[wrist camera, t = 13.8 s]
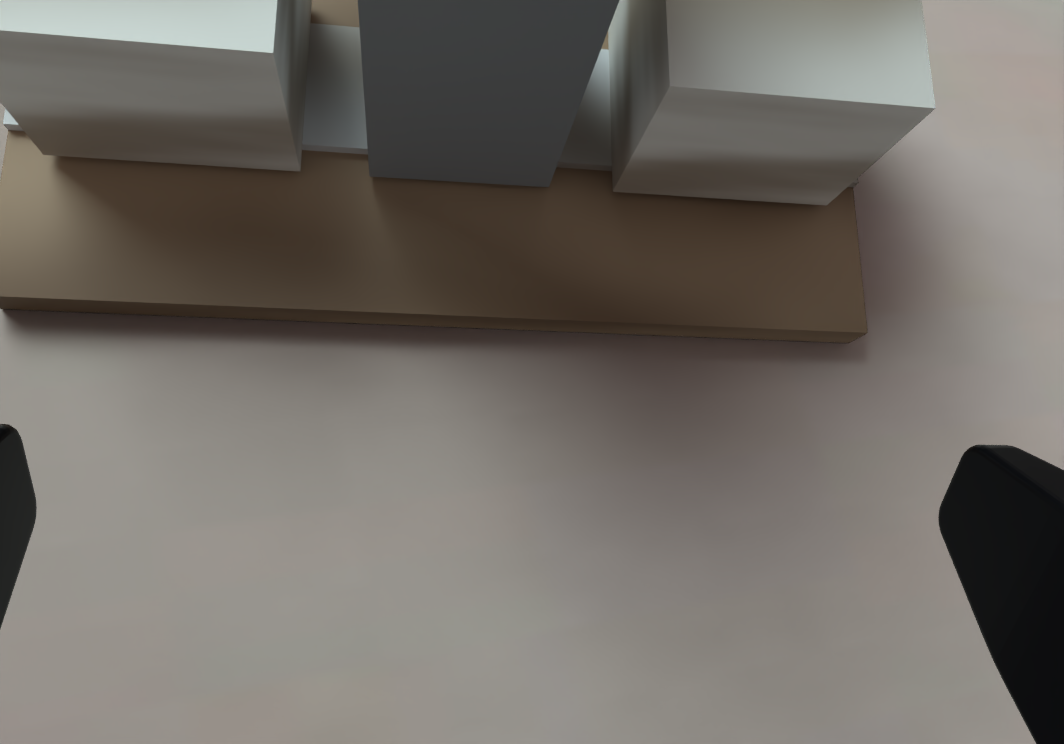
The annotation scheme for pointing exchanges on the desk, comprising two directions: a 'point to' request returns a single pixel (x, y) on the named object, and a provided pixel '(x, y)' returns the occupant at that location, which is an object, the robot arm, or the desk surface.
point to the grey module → (476, 85)
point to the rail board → (444, 206)
